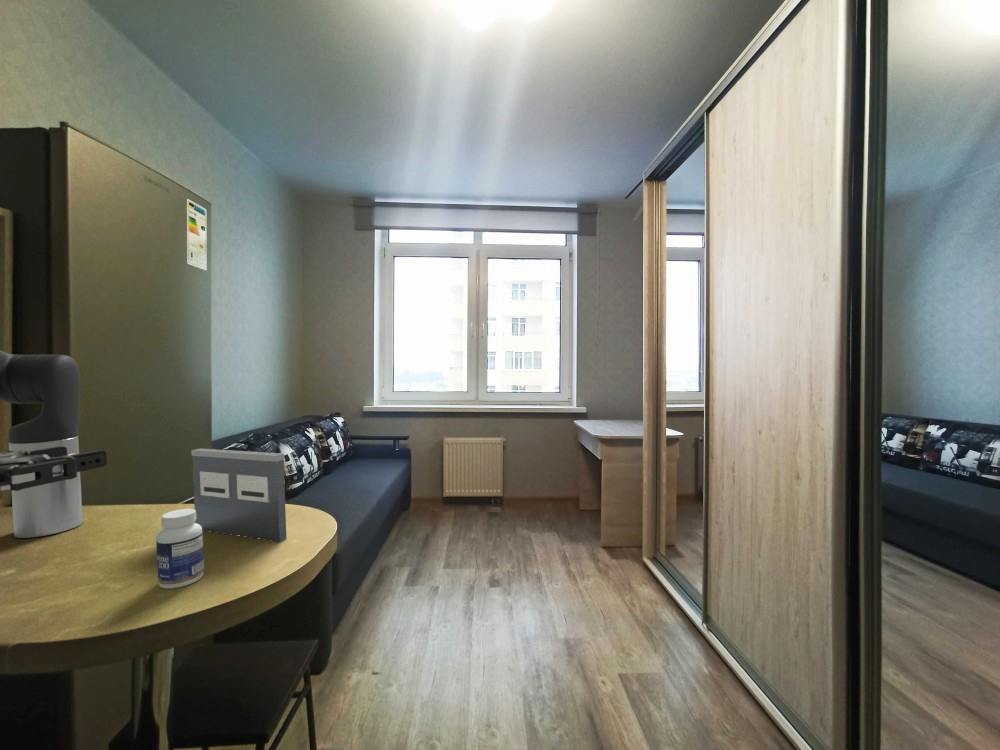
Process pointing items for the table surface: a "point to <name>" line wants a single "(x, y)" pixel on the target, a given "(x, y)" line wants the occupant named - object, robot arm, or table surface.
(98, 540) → the table surface
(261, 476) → the label panel
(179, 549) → the pill bottle
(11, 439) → the robot arm
